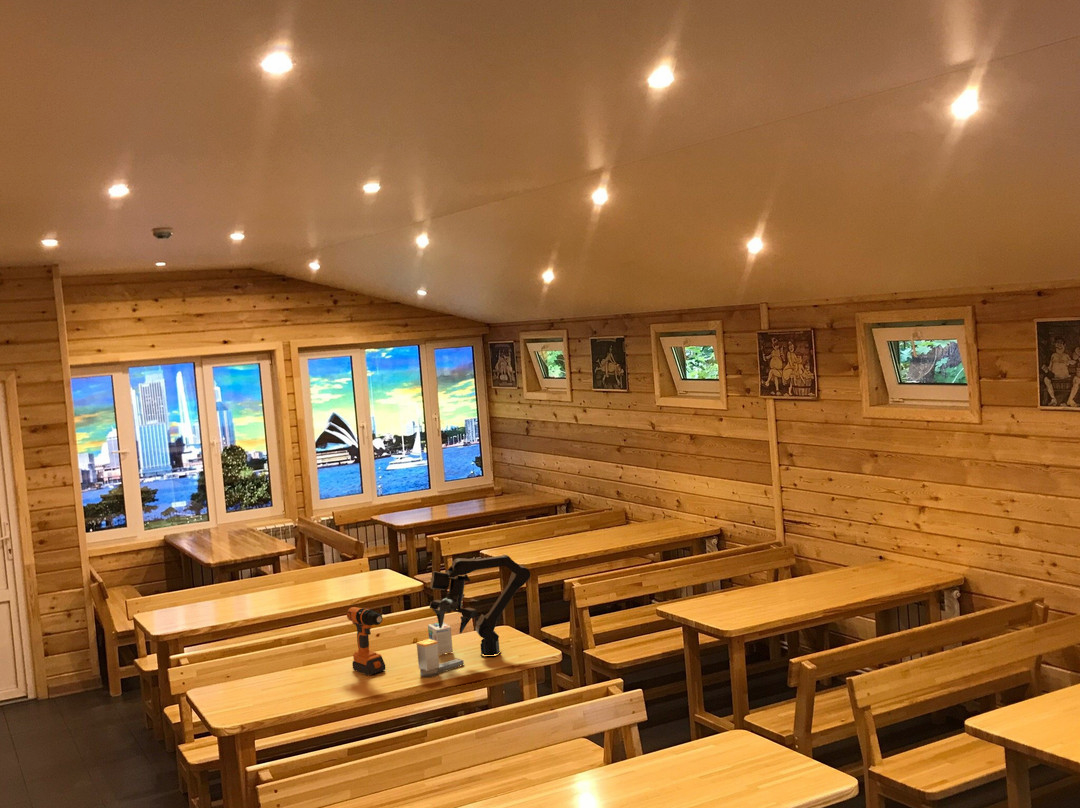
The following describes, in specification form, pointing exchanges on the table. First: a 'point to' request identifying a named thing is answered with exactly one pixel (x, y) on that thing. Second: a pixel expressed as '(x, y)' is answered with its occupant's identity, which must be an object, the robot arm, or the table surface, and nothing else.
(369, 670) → the power drill
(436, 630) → the light bulb box
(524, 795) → the table surface
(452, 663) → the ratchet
